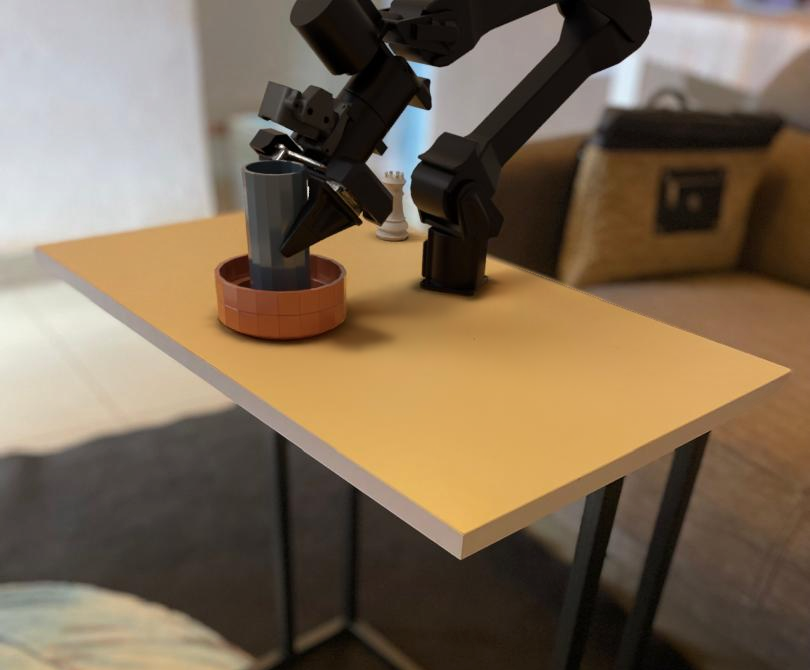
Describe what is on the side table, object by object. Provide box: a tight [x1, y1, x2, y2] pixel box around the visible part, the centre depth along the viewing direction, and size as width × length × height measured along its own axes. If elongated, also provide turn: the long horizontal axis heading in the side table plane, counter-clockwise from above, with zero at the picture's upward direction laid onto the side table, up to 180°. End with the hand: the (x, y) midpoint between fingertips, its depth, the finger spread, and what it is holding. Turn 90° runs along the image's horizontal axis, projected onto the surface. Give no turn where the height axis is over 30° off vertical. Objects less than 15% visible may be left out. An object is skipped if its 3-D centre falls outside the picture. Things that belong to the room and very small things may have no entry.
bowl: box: [213, 252, 348, 341], centre depth 85 cm, size 13×13×5 cm
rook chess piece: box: [375, 170, 410, 242], centre depth 110 cm, size 4×4×8 cm
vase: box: [240, 160, 312, 292], centre depth 82 cm, size 6×6×14 cm
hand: (267, 245), depth 81 cm, fingers closed on vase, 6 cm apart
